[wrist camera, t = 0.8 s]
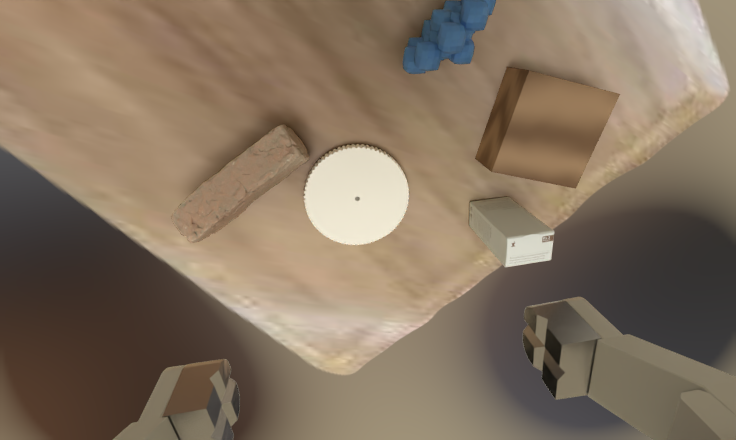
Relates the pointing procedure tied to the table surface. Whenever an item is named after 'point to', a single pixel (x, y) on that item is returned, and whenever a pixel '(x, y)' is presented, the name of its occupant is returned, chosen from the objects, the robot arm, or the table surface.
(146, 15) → the table surface
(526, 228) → the skincare box
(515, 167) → the walnut block
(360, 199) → the plastic lid
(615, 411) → the robot arm
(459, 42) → the grapes
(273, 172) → the brick
